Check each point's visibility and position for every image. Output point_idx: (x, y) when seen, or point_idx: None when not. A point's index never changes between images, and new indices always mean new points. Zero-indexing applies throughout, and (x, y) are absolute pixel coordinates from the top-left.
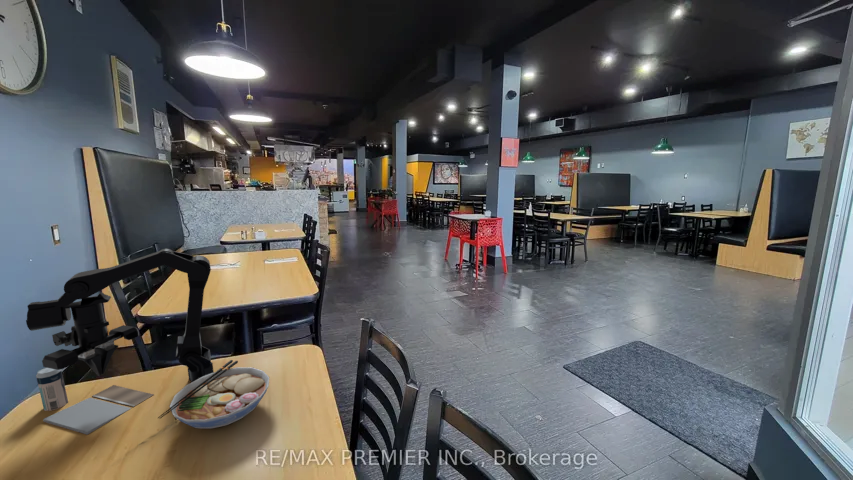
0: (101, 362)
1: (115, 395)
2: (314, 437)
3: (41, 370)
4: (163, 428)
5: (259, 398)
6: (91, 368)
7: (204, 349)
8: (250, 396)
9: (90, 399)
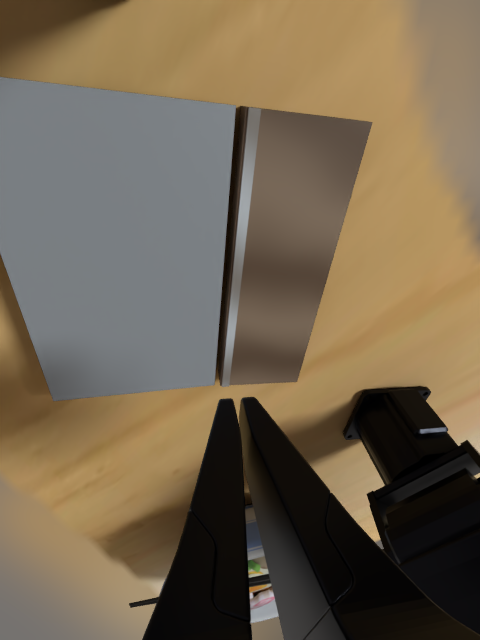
0: (272, 542)
1: (274, 249)
2: None
3: None
4: (182, 475)
5: (256, 616)
6: (199, 474)
7: None
8: (264, 602)
9: (218, 141)
